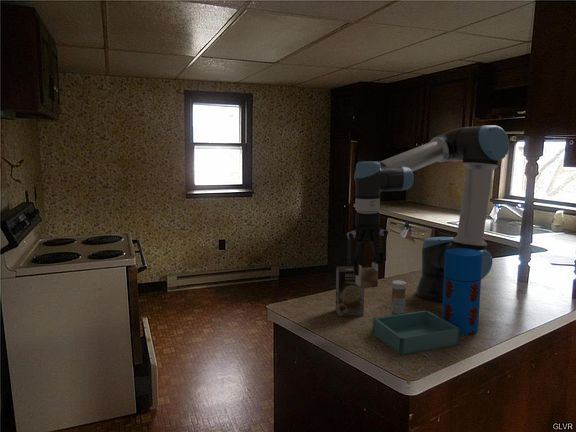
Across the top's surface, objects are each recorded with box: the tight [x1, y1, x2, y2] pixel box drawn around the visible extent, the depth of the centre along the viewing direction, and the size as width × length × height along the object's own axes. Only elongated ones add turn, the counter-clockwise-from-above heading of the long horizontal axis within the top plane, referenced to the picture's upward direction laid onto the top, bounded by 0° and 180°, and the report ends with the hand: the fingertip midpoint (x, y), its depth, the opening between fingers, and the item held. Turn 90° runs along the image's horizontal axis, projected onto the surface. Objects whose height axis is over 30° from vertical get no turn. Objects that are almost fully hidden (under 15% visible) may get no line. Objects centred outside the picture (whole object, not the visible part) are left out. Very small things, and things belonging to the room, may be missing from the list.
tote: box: [372, 310, 461, 356], centre depth 129 cm, size 20×16×5 cm
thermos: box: [441, 248, 482, 336], centre depth 135 cm, size 11×11×25 cm
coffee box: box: [335, 266, 365, 317], centre depth 150 cm, size 9×6×16 cm
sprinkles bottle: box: [391, 279, 407, 315], centre depth 142 cm, size 5×5×14 cm
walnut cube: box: [360, 266, 379, 289], centre depth 136 cm, size 5×5×5 cm
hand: (366, 283), depth 136 cm, fingers closed on walnut cube, 5 cm apart
